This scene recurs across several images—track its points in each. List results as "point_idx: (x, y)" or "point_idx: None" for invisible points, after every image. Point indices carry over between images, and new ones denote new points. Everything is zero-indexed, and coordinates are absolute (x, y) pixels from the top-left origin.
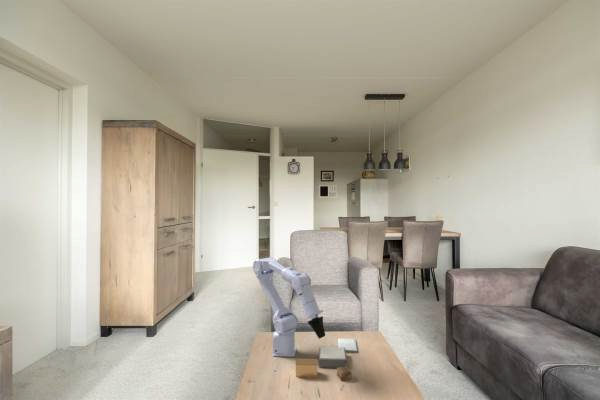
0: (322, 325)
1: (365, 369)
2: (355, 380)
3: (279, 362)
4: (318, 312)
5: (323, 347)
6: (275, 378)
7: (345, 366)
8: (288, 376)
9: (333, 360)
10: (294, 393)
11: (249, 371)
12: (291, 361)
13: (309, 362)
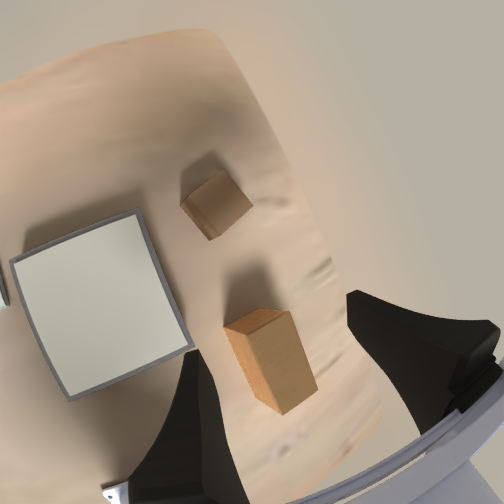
0: (202, 417)
1: (118, 141)
2: (213, 164)
3: None
4: (474, 435)
5: (69, 378)
6: (318, 417)
7: (193, 201)
8: None
9: (163, 275)
10: None
11: (314, 485)
12: None
13: (290, 350)
